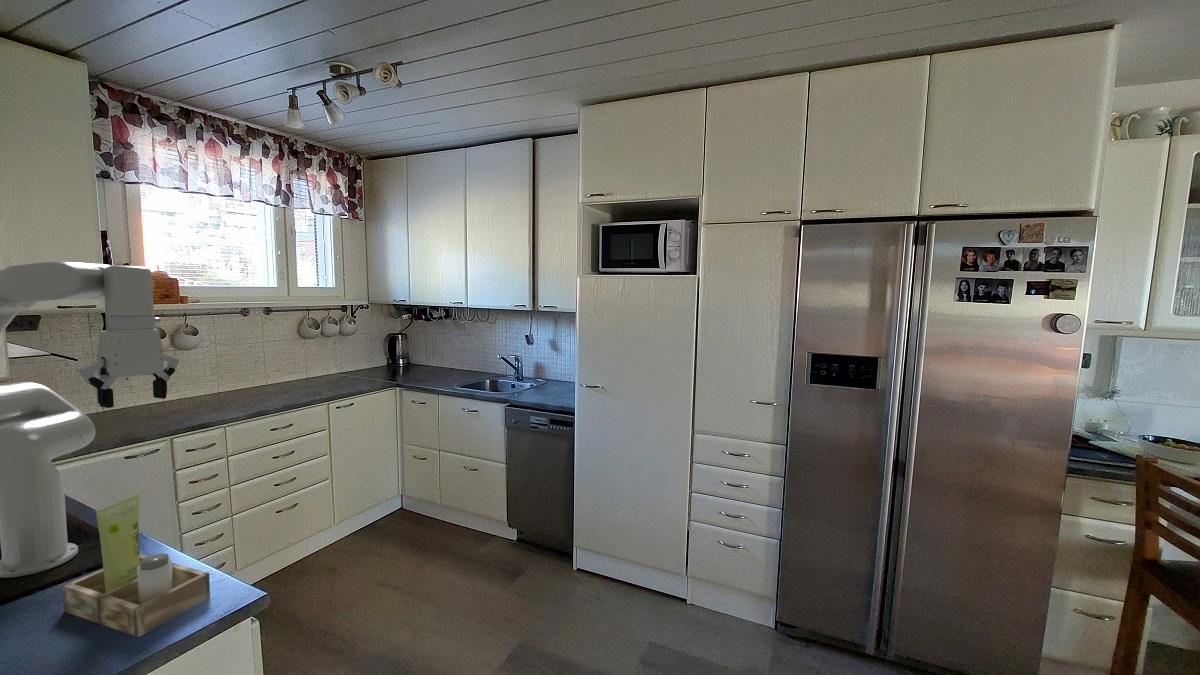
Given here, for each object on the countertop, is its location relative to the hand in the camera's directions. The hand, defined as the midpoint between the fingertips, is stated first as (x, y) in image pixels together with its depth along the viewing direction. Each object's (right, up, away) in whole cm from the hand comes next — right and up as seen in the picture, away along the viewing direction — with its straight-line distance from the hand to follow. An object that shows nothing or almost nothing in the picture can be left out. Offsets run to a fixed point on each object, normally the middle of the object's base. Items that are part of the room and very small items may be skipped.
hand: (134, 402), depth 107 cm
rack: (+13, -38, -12) cm, 42 cm away
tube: (+8, -37, -11) cm, 39 cm away
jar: (+17, -38, -14) cm, 43 cm away
